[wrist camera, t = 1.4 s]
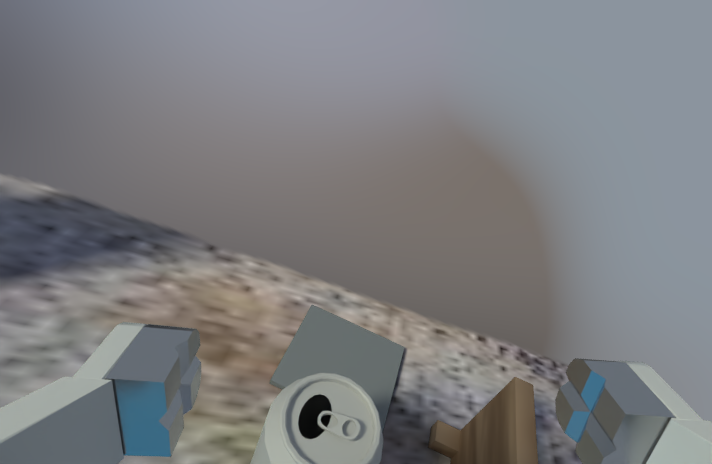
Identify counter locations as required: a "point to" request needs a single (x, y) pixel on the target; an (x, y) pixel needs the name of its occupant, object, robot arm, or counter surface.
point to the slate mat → (342, 356)
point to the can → (321, 424)
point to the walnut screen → (493, 431)
